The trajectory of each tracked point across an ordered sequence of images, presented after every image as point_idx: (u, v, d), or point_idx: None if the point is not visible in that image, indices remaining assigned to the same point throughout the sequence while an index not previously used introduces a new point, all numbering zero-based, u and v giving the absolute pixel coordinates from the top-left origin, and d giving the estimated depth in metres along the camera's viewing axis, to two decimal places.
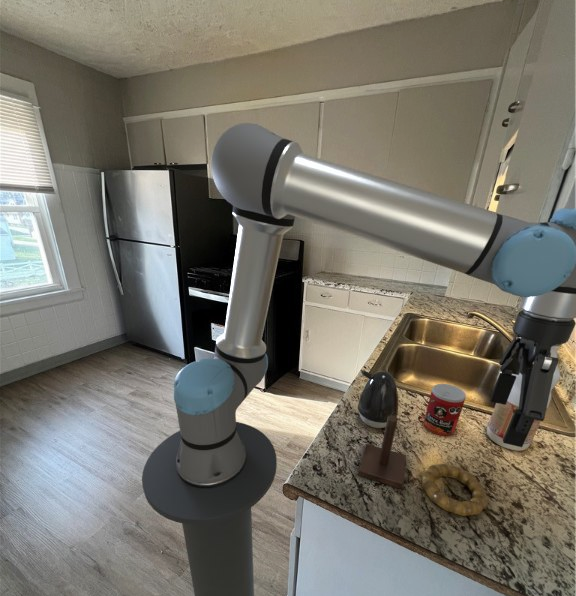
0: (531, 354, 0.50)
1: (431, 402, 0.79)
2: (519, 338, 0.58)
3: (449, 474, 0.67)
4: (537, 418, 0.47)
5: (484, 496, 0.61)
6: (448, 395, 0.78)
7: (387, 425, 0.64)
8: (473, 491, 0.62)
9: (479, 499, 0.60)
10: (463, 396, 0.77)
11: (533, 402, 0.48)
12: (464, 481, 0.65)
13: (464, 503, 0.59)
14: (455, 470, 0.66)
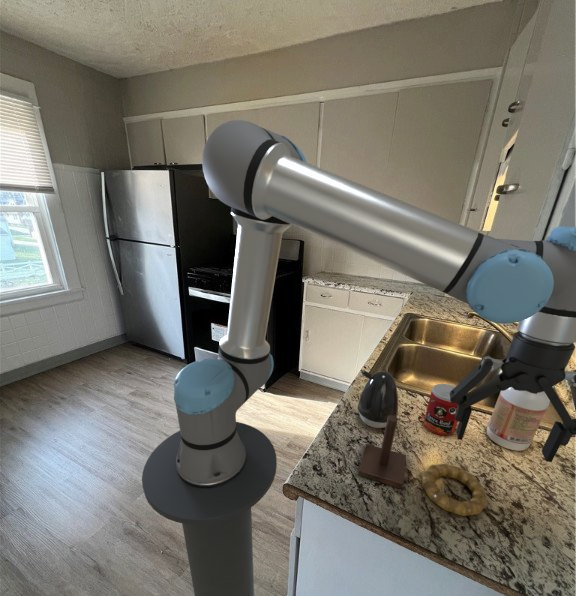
0: (558, 378, 0.48)
1: (431, 402, 0.79)
2: (493, 369, 0.51)
3: (449, 474, 0.67)
4: None
5: (484, 496, 0.61)
6: (448, 395, 0.78)
7: (387, 425, 0.64)
8: (473, 491, 0.62)
9: (479, 499, 0.60)
10: None
11: None
12: (464, 481, 0.65)
13: (464, 503, 0.59)
14: (455, 470, 0.66)
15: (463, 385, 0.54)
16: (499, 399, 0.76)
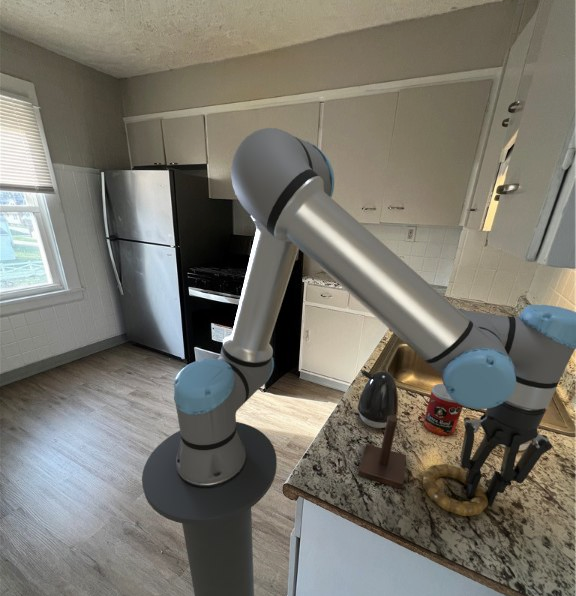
0: (531, 436, 0.53)
1: (431, 402, 0.79)
2: (475, 429, 0.56)
3: (450, 474, 0.67)
4: None
5: (485, 496, 0.61)
6: (448, 395, 0.78)
7: (387, 425, 0.64)
8: None
9: (480, 499, 0.60)
10: None
11: None
12: (465, 481, 0.65)
13: (465, 503, 0.59)
14: (456, 470, 0.66)
15: (463, 450, 0.59)
16: None
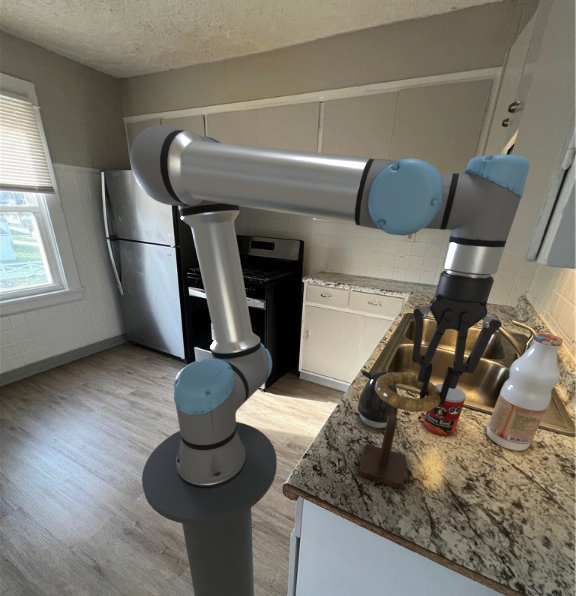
0: (481, 314, 0.49)
1: None
2: (424, 315, 0.53)
3: (405, 381, 0.63)
4: None
5: (437, 394, 0.57)
6: (448, 395, 0.78)
7: (387, 425, 0.64)
8: (427, 392, 0.59)
9: (431, 396, 0.56)
10: (463, 396, 0.77)
11: None
12: (420, 386, 0.62)
13: (415, 399, 0.56)
14: (411, 376, 0.63)
15: None
16: (499, 399, 0.76)
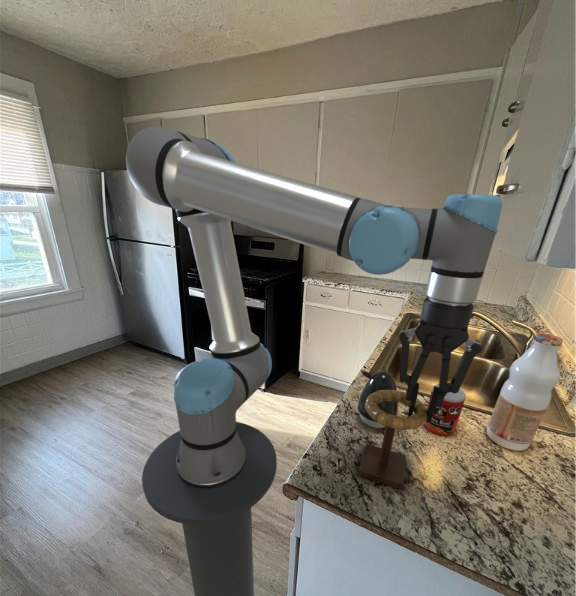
0: (462, 338, 0.52)
1: None
2: (410, 338, 0.55)
3: (394, 398, 0.66)
4: None
5: (424, 412, 0.60)
6: (448, 395, 0.78)
7: None
8: (415, 410, 0.61)
9: (418, 414, 0.59)
10: (463, 396, 0.77)
11: None
12: (408, 403, 0.64)
13: (402, 417, 0.58)
14: (400, 394, 0.66)
15: None
16: (499, 399, 0.76)
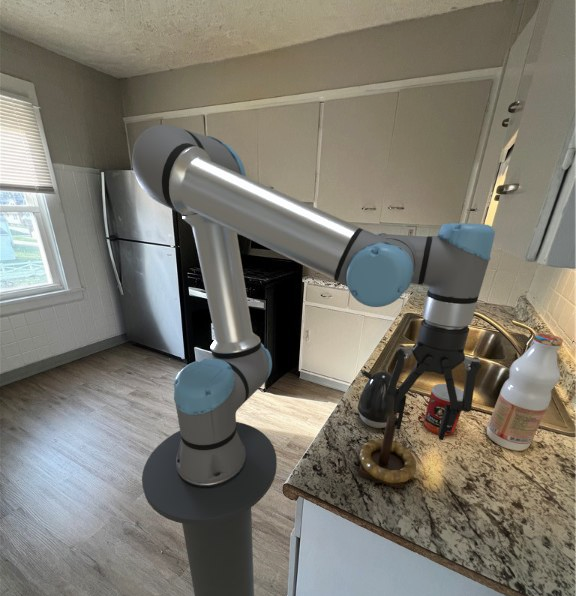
0: (459, 359, 0.53)
1: (431, 402, 0.79)
2: (406, 356, 0.57)
3: None
4: None
5: (413, 466, 0.65)
6: (448, 395, 0.78)
7: (387, 425, 0.64)
8: (405, 462, 0.67)
9: (408, 468, 0.64)
10: None
11: None
12: (399, 454, 0.70)
13: (393, 472, 0.63)
14: (392, 444, 0.71)
15: (391, 377, 0.60)
16: (499, 399, 0.76)
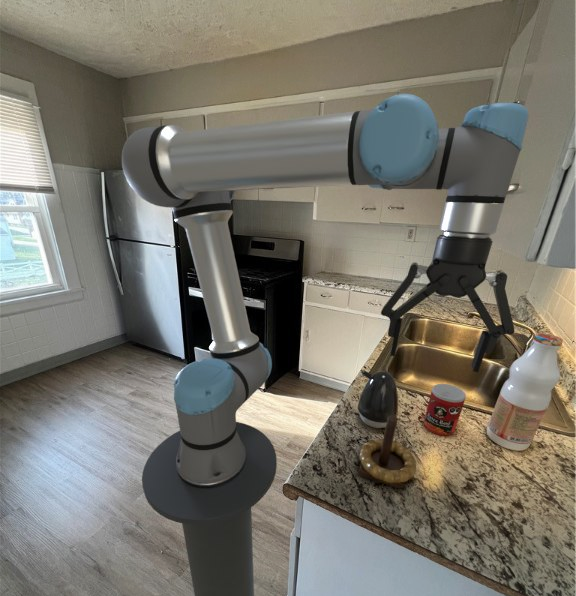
0: (479, 278, 0.48)
1: (431, 402, 0.79)
2: (418, 274, 0.51)
3: None
4: None
5: (413, 466, 0.65)
6: (448, 395, 0.78)
7: (387, 425, 0.64)
8: (405, 462, 0.67)
9: (408, 468, 0.64)
10: (463, 396, 0.77)
11: (510, 317, 0.48)
12: (399, 454, 0.70)
13: (393, 472, 0.63)
14: (392, 444, 0.71)
15: (392, 296, 0.54)
16: (499, 399, 0.76)
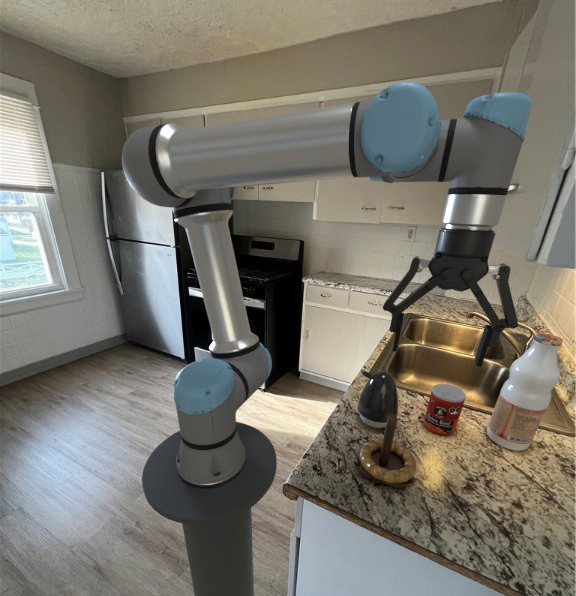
0: (482, 271, 0.47)
1: (431, 402, 0.79)
2: (420, 268, 0.50)
3: None
4: None
5: (413, 466, 0.65)
6: (448, 395, 0.78)
7: (387, 425, 0.64)
8: (405, 462, 0.67)
9: (408, 468, 0.64)
10: (463, 396, 0.77)
11: None
12: (399, 454, 0.70)
13: (393, 472, 0.63)
14: (392, 444, 0.71)
15: (394, 290, 0.53)
16: (499, 399, 0.76)
